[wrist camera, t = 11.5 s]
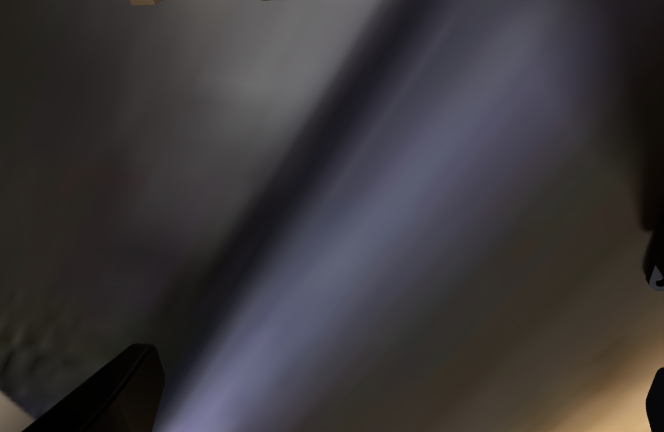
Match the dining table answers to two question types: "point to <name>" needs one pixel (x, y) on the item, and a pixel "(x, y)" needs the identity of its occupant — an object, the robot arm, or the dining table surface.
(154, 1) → the rack
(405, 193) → the dining table surface
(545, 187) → the dining table surface
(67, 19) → the dining table surface
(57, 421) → the robot arm
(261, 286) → the dining table surface
